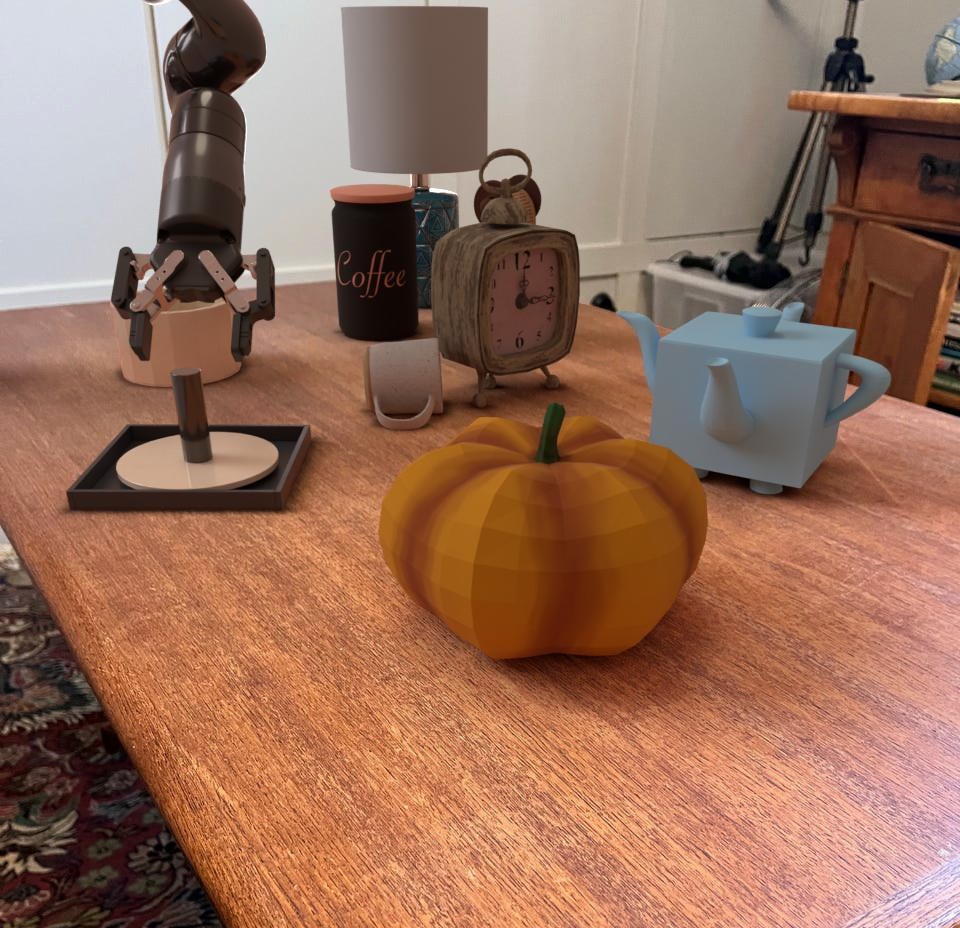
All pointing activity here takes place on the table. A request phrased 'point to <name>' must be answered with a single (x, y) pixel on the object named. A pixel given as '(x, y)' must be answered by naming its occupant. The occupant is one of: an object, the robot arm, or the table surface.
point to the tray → (266, 494)
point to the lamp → (418, 105)
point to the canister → (180, 343)
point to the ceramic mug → (403, 381)
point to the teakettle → (753, 392)
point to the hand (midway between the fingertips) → (189, 357)
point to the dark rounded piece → (527, 196)
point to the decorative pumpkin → (545, 535)
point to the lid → (196, 449)
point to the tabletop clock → (505, 290)
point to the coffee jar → (375, 261)
